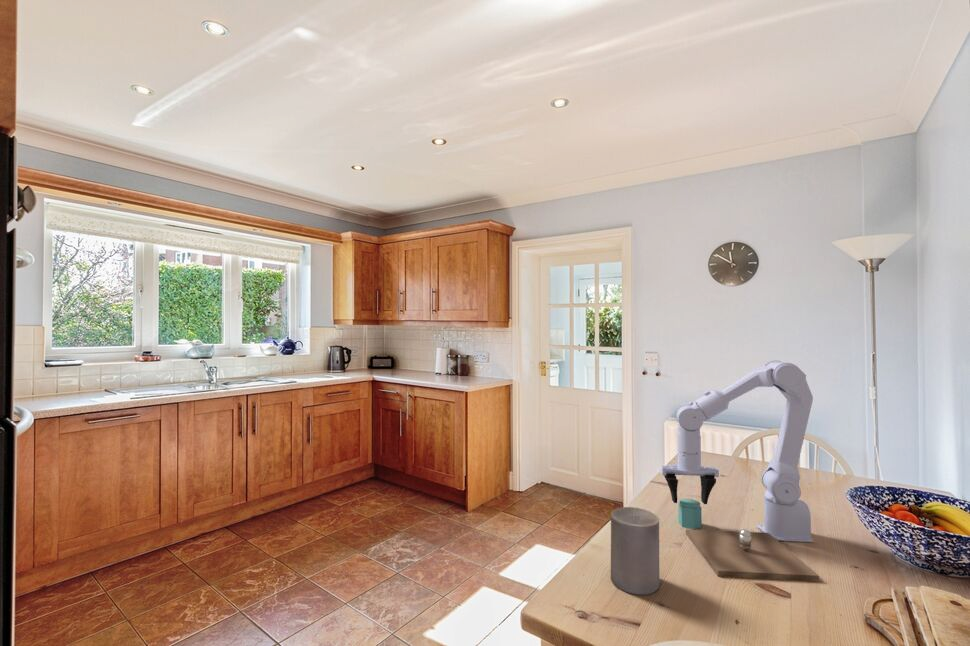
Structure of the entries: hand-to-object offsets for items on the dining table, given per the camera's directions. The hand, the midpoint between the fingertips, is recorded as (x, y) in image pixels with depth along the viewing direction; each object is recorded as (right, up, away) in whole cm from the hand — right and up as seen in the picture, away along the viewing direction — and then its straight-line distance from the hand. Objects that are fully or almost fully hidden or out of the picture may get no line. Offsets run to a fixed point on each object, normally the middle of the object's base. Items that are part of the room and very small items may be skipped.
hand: (689, 502), depth 121 cm
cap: (0, -6, 0) cm, 6 cm away
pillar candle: (-24, -6, -28) cm, 37 cm away
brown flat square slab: (+5, -6, -17) cm, 18 cm away
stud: (+5, -4, -17) cm, 18 cm away
